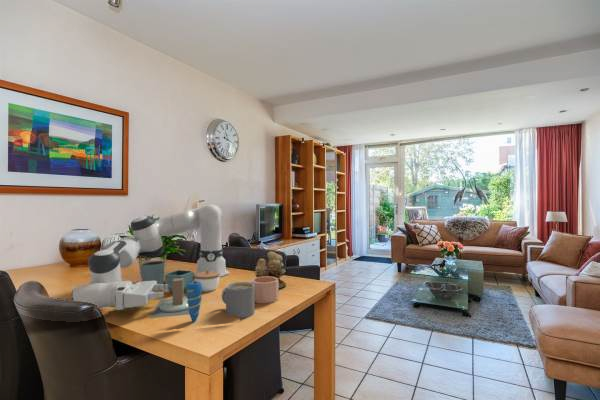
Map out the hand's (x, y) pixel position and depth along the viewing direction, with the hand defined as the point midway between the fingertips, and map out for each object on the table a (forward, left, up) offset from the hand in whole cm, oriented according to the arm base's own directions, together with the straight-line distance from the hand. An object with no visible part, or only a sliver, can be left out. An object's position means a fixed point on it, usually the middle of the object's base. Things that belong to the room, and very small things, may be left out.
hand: (165, 290), depth 113 cm
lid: (0, +4, -6) cm, 8 cm away
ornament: (+17, +11, -7) cm, 21 cm away
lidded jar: (-20, +14, -7) cm, 26 cm away
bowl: (-1, +37, -7) cm, 38 cm away
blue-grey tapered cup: (-32, -11, -7) cm, 35 cm away
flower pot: (-21, +2, -7) cm, 23 cm away
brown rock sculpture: (-17, +42, -7) cm, 46 cm away
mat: (0, +4, -7) cm, 8 cm away
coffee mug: (+10, +26, -7) cm, 28 cm away
